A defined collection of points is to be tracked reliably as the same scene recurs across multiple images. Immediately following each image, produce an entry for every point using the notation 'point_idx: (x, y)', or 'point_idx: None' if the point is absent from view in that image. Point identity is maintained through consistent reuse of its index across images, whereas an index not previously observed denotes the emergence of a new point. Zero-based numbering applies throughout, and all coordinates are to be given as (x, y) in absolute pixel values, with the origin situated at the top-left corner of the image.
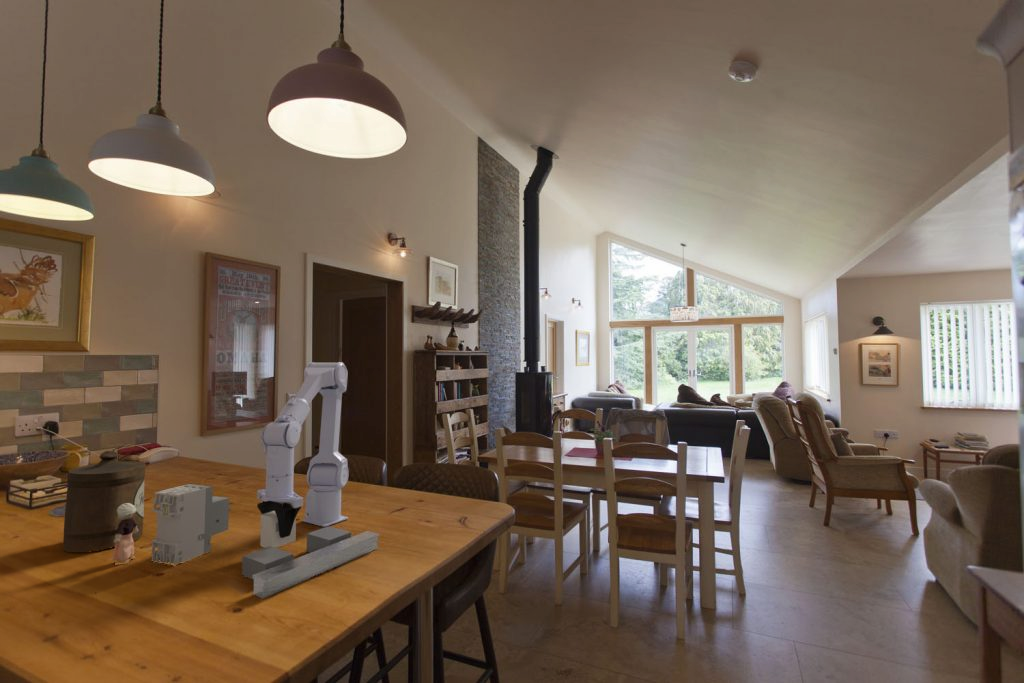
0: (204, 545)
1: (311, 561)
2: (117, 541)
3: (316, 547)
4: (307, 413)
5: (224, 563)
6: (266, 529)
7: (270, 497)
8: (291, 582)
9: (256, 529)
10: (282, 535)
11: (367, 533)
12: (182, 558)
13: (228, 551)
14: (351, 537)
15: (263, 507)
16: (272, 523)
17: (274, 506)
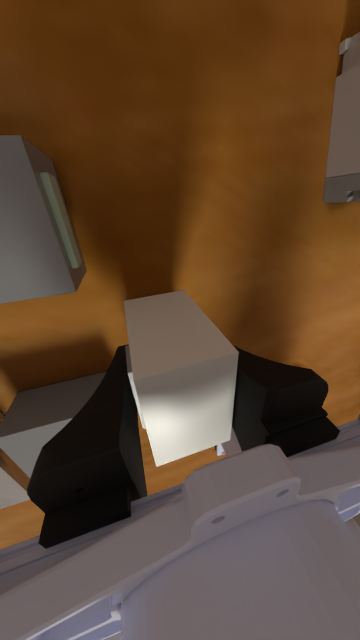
0: (353, 175)
1: None
2: None
3: (71, 392)
4: None
5: (216, 183)
6: (165, 325)
7: (195, 545)
8: None
9: (327, 336)
10: (116, 353)
11: (9, 498)
12: (353, 70)
13: (284, 239)
14: (2, 473)
15: (261, 390)
16: (131, 358)
17: (245, 425)
